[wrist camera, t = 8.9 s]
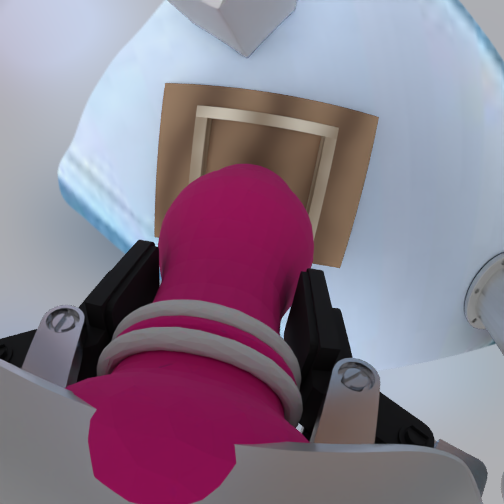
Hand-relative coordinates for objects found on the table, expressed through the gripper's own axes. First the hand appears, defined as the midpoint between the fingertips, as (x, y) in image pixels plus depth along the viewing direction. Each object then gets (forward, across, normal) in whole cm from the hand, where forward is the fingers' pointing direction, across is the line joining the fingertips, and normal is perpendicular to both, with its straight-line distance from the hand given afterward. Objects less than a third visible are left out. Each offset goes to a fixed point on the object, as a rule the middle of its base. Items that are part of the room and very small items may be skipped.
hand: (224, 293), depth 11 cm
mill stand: (+20, 0, 0) cm, 20 cm away
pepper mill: (+9, 0, 0) cm, 9 cm away
